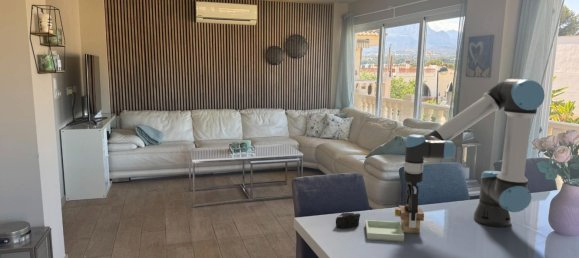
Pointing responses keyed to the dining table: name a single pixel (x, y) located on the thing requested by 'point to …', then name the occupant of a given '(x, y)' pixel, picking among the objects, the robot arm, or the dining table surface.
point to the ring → (404, 213)
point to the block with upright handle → (406, 224)
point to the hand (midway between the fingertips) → (410, 222)
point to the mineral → (347, 220)
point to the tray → (384, 231)
